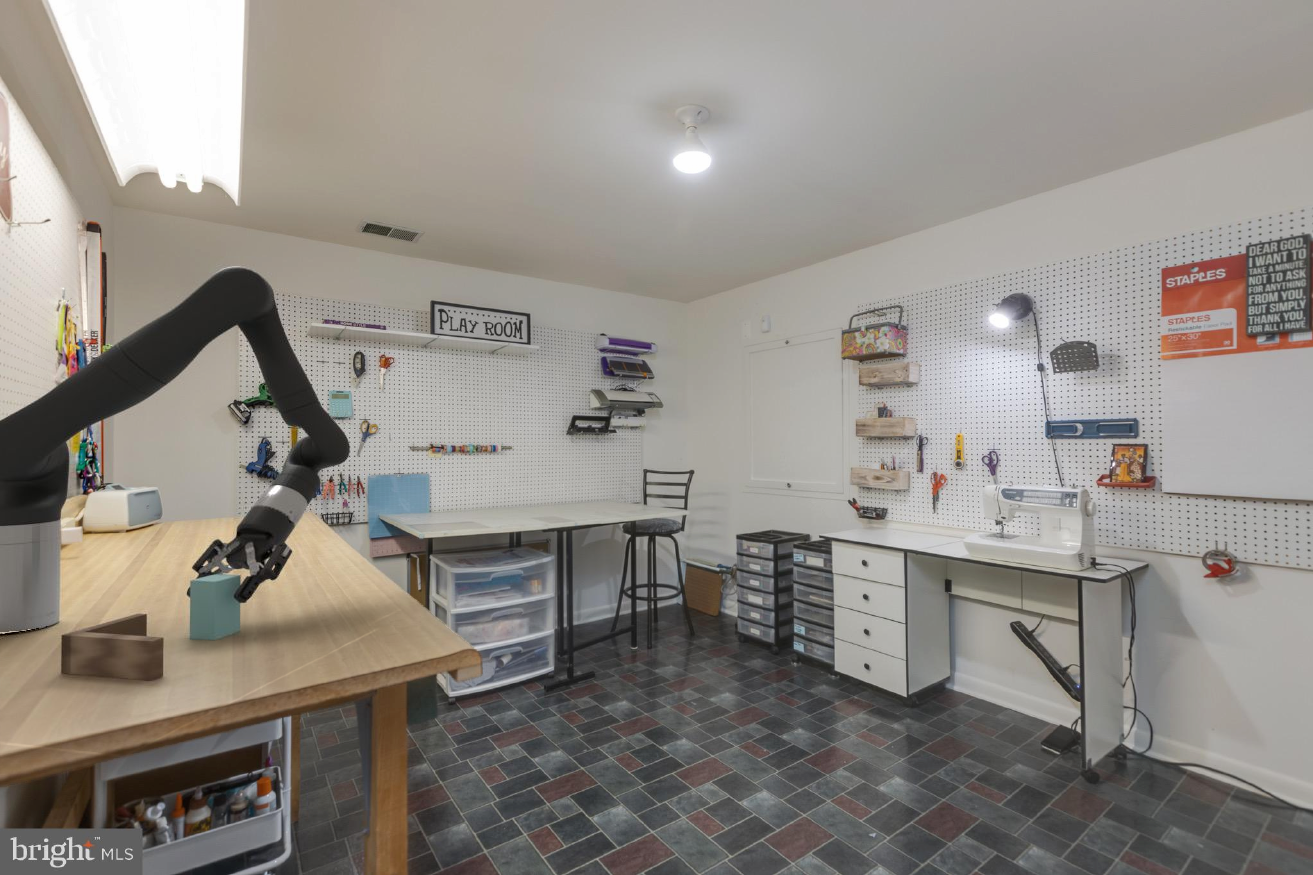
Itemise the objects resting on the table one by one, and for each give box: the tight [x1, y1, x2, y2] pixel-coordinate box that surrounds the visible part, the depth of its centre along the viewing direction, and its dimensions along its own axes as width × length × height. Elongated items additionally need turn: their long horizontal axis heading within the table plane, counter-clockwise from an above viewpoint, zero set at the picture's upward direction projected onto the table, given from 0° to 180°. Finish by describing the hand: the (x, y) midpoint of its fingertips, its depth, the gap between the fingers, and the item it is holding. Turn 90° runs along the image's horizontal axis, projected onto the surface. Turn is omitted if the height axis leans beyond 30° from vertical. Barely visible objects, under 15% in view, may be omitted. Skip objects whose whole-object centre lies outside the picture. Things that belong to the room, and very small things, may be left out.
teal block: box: [189, 573, 242, 641], centre depth 93 cm, size 4×4×9 cm
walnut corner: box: [60, 613, 165, 681], centre depth 81 cm, size 14×10×5 cm
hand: (215, 599), depth 93 cm, fingers open, 8 cm apart
